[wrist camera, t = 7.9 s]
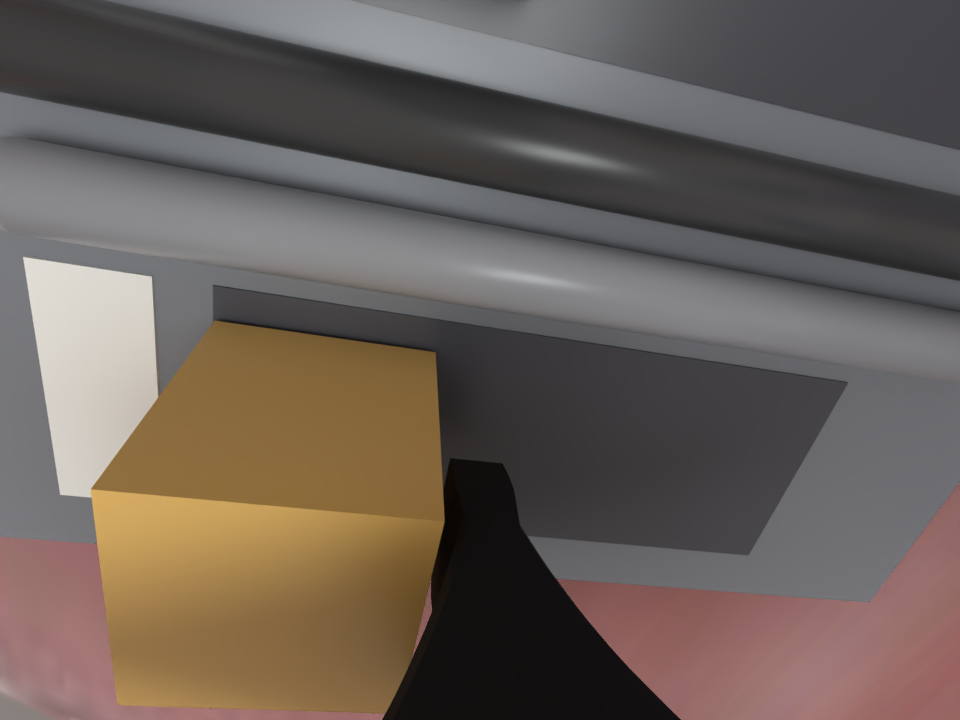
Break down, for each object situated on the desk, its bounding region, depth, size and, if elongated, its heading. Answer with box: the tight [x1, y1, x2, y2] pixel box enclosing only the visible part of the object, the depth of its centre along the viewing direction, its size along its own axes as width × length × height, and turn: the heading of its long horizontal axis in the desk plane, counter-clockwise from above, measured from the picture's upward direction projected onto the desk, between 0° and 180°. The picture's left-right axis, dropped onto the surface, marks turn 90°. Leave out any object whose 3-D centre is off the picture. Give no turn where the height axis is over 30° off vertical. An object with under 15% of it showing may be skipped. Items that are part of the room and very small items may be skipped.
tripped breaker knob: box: [91, 321, 445, 713], centre depth 10 cm, size 4×4×4 cm
